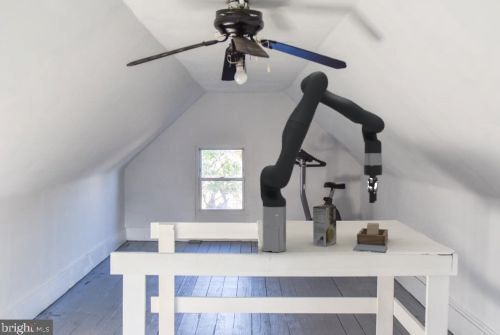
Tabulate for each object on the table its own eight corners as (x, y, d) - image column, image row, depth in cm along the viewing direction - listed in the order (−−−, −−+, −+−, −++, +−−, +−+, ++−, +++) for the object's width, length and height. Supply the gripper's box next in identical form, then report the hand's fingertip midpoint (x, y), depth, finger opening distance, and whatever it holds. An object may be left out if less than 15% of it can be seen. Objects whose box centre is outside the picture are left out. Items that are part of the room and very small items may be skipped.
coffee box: (323, 241, 187) (323, 204, 186) (336, 243, 183) (336, 205, 182) (312, 244, 180) (312, 206, 179) (326, 246, 176) (326, 207, 175)
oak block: (377, 243, 182) (377, 224, 182) (366, 243, 183) (366, 224, 183) (378, 241, 186) (378, 223, 186) (368, 241, 188) (368, 222, 187)
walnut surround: (384, 247, 174) (384, 236, 174) (357, 245, 178) (357, 234, 178) (387, 239, 191) (387, 229, 191) (362, 238, 195) (362, 228, 195)
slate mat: (385, 253, 163) (385, 251, 163) (353, 250, 168) (353, 249, 168) (387, 247, 173) (387, 246, 173) (356, 245, 178) (356, 244, 178)
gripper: (365, 164, 192) (365, 200, 192) (361, 164, 179) (362, 203, 179) (383, 164, 189) (383, 200, 190) (380, 164, 176) (380, 203, 176)
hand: (373, 202), depth 184 cm, fingers open, 8 cm apart
